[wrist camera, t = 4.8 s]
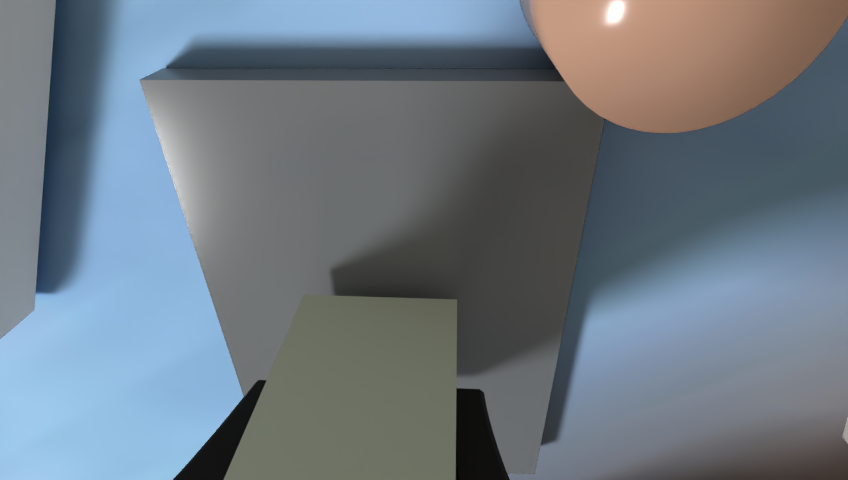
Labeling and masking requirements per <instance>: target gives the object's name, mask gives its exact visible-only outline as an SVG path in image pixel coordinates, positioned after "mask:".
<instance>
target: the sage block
mask: <svg viewBox="0 0 848 480" xmlns="http://www.w3.org/2000/svg"><path fill="white" fill-rule="evenodd" d="M456 377H457V299H426V298H394V297H362V296H330V295H303V298H302V300H301V302H300V304H299V307H298V309H297V311H296V314H295V316H294V318H293V321H292V323H291V325H290V328H289V330H288V332H287V334H286V337H285V339H284V341H283V344H282V346H281V348H280V351H279V353H278V355H277V358H276V360H275V362H274V364H273V367H272V369H271V371H270V374H269V376H268V378H267V381H266V383H265V385H264V388H263V390H262V392H261V394H260V397H259V399H258V401H257V404H256V406H255V408H254V411H253V413H252V415H251V418H250V420H249V422H248V424H247V427H246V429H245V431H244V434H243V436H242V438H241V441H240V443H239V445H238V448H237V450H236V452H235V455H234V457H233V459H232V461H231V464H230V466H229V468H228V471H227V473H226V475H225V478H224V480H456Z"/></svg>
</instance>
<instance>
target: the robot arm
mask: <svg viewBox="0 0 848 480" xmlns="http://www.w3.org/2000/svg"><path fill="white" fill-rule="evenodd" d="M266 381H267V380H258V381H257V382H256V383H255V384H254V385H253V386H252V387H251V389H250V390H249V391H248V392H247V394H246V395H245V396H244V397H243V399H242V400H241V401H240V402H239V404H238V405H237V406H236V407H235V409H234V410H233V411H232V412H231V414H230V415H229V416H228V417H227V418H226V420H225V421H224V422H223V423H222V424H221V426H220V427H219V428H218V429H217V430H216V432H215V433H214V434H213V435H212V436H211V437H210V439H209V440H208V441H207V442H206V443H205V444H204V446H203V447H202V448H201V449H200V450H199V451H198V452H197V454H196V455H195V456H194V457H193V458H192V459H191V460H190V462H189V463H188V464H187V465H186V466H185V467H184V468H183V469H182V471H181V472H180V473H179V474H178V475H177V476H176V477H175V478H174V479H173V480H224V478H225V475H226V473H227V471H228V468H229V466H230V464H231V461H232V459H233V457H234V455H235V452H236V450H237V448H238V445H239V443H240V441H241V438H242V436H243V434H244V431H245V429H246V427H247V424H248V422H249V420H250V418H251V415H252V413H253V411H254V408H255V406H256V404H257V401H258V399H259V397H260V394H261V392H262V390H263V388H264V385H265V383H266ZM456 480H510V479H509V477H508V474H507V471H506V469H505V466H504V464H503V461H502V458H501V455H500V452H499V449H498V446H497V443H496V440H495V437H494V433H493V430H492V427H491V423H490V419H489V415H488V411H487V406H486V401H485V395H484V392H483V391H481V390H480V389H465V388H456Z"/></svg>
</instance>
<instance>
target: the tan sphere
mask: <svg viewBox="0 0 848 480" xmlns="http://www.w3.org/2000/svg"><path fill="white" fill-rule="evenodd" d="M519 1H520V6H521V9H522V12H523V15H524V17H525V20H526V22H527V24H528V26H529V28H530V30H531V31H532V33H533V34H534V36H535V37H536V39H537V40H538V42H539V43H540V45H541V46H542V48H543V49H544V51H545V52H546V54H547V55H548V57H549V58H550V60H551V61H552V63H553V64H554V65H555V67H556V68H557V70H558V71H559V73H560V74H561V76H562V77H563V79H564V80H565V82H566V83H567V84H568V86H569V87H570V89H571V90H572V91H573V93H574V94H575V95H576V96H577V97H578V98H579V99H580V100H581V101H582V102H583V103H584V104H585V105H586V106H587V107H588V108H590V109H591V110H592V111H594V112H595V113H596V114H598V115H599V116H601V117H603V118H605V119H607V120H609V121H610V122H612V123H614V124H617V125H620V126H623V127H626V128H629V129H633V130H638V131H643V132H651V133H679V132H686V131H692V130H698V129H702V128H706V127H709V126H713V125H716V124H719V123H722V122H724V121H727V120H730V119H732V118H735V117H737V116H739V115H741V114H743V113H745V112H747V111H749V110H751V109H753V108H755V107H756V106H758V105H760V104H761V103H763V102H764V101H766V100H767V99H769V98H771V97H772V96H774V95H775V94H776V93H778V92H779V91H780V90H782V89H783V88H784V87H786V86H787V85H788V84H789V83H791V82H792V81H793V80H794V79H795V78H796V77H797V76H799V75H800V74H801V73H802V72H803V71H804V70H805V69H806V68H807V67H808V66H809V65H810V64H811V63H812V62H813V61H814V60H815V59H816V58H817V56H818V55H819V54H820V53H821V52H822V51H823V50H824V49H825V48H826V46H827V45H828V44H829V42H830V41H831V40H832V38H833V37H834V36H835V34H836V33H837V32H838V30H839V29H840V28H841V26H842V24H843V23H844V21H845V20H846V18H847V16H848V0H519Z"/></svg>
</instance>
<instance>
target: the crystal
mask: <svg viewBox="0 0 848 480" xmlns="http://www.w3.org/2000/svg"><path fill="white" fill-rule="evenodd" d="M55 6H56V0H0V339H1V338H2V337H3V336H5V335H6V334H7V333H8V332H9V331H10V330H12V329H13V328H14V327H15V326H16V325H17V324H19V323H20V322H21V321H22V320H23V319H24V318H26V317H27V316H28V315H29V314H30V313H31V312H33V311H34V308H35V294H36V279H37V265H38V250H39V236H40V222H41V207H42V193H43V179H44V164H45V150H46V135H47V121H48V107H49V92H50V78H51V63H52V49H53V35H54V20H55Z"/></svg>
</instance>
